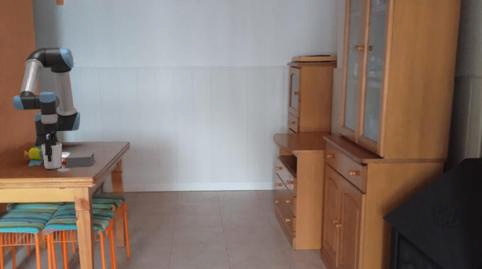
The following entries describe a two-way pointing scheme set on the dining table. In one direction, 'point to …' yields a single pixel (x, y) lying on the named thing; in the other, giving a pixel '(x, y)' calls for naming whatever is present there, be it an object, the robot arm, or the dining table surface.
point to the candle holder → (56, 155)
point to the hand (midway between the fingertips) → (53, 165)
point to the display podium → (80, 159)
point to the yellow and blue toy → (35, 155)
